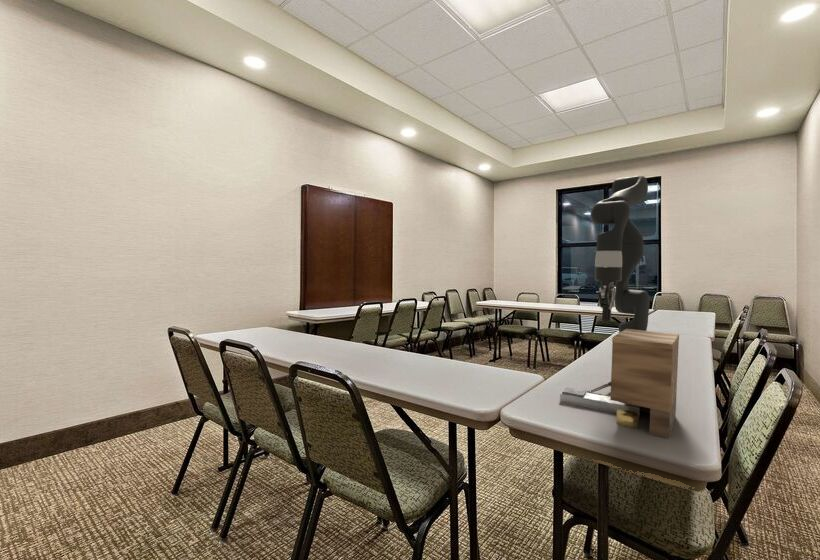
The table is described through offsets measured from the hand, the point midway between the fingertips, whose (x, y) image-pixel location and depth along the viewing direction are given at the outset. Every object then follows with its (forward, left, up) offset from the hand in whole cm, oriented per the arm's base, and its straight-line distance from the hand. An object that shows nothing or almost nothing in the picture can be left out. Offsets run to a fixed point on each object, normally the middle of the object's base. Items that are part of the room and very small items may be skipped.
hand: (606, 320), depth 121 cm
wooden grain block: (+12, +13, -25) cm, 30 cm away
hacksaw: (-11, +1, -25) cm, 28 cm away
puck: (+17, +10, -25) cm, 32 cm away
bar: (+8, +1, -25) cm, 27 cm away
